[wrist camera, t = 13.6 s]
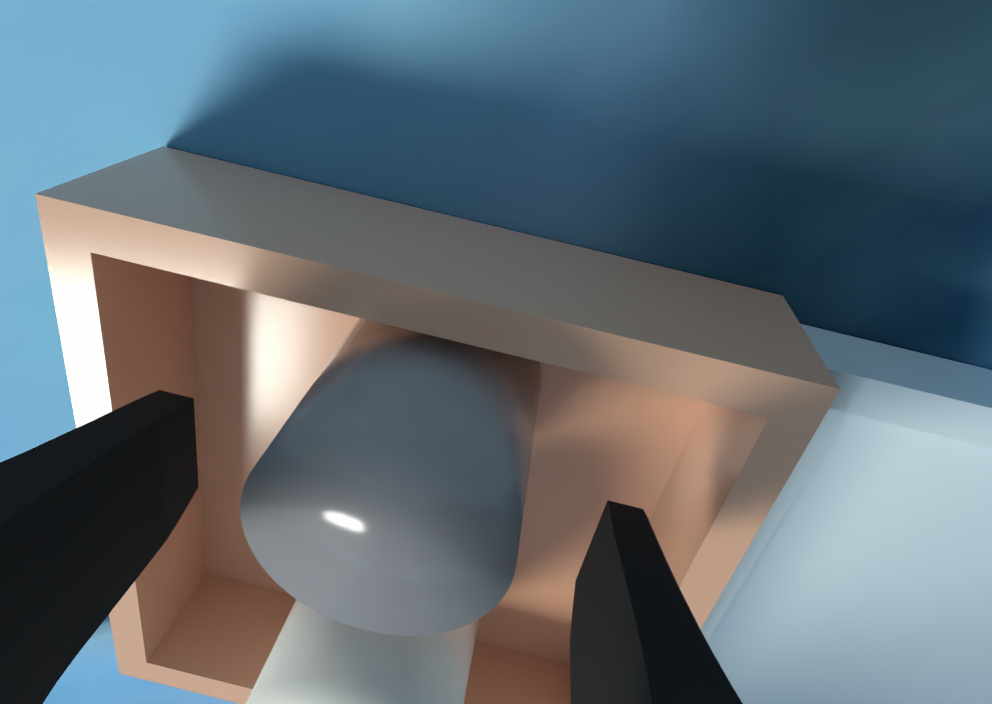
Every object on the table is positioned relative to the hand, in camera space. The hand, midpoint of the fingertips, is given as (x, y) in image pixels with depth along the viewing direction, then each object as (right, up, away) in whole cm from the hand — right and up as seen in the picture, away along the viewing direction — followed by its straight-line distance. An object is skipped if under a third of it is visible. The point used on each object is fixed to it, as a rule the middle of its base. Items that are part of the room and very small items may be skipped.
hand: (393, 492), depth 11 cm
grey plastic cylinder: (+1, +2, +3) cm, 4 cm away
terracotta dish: (0, 0, +5) cm, 5 cm away
